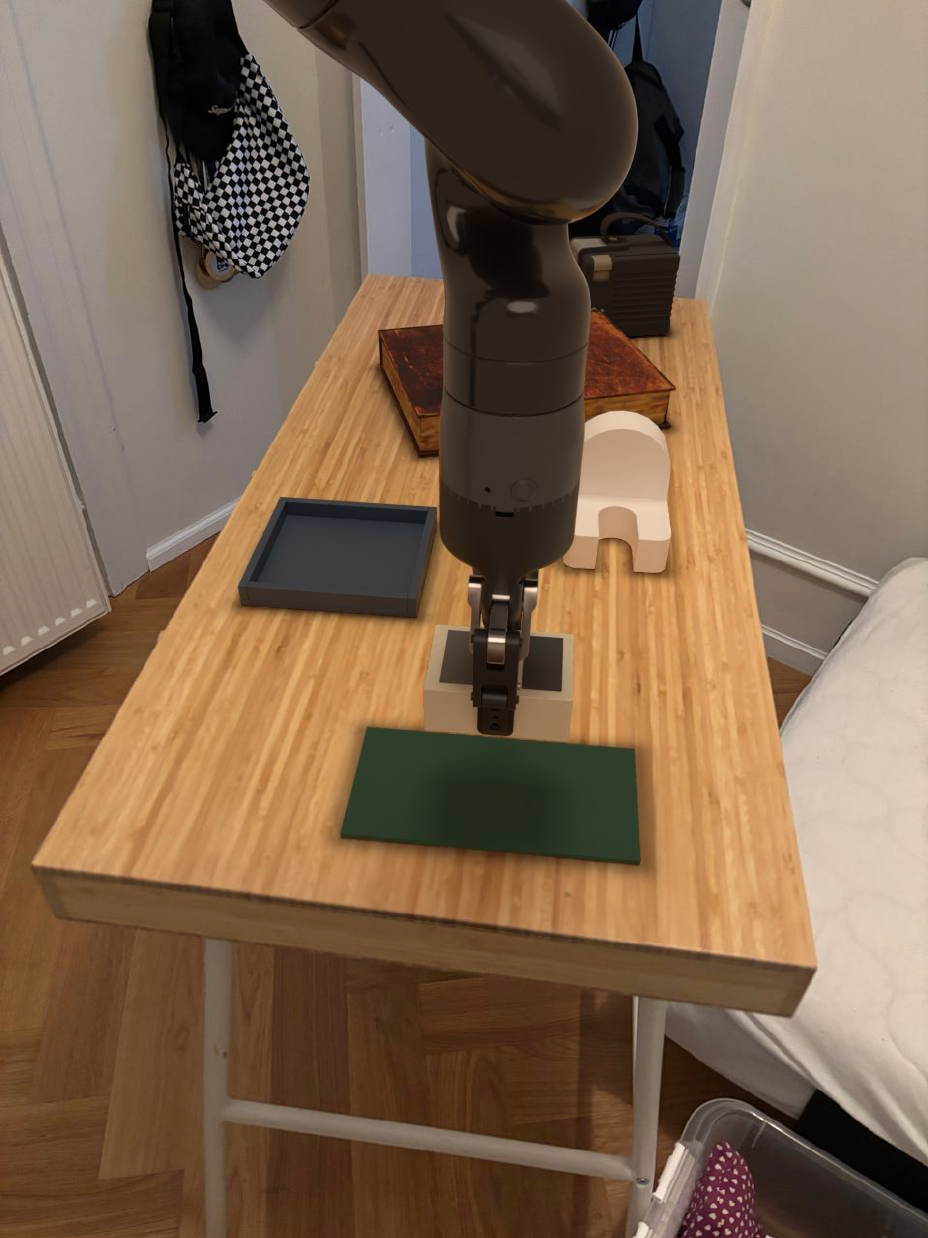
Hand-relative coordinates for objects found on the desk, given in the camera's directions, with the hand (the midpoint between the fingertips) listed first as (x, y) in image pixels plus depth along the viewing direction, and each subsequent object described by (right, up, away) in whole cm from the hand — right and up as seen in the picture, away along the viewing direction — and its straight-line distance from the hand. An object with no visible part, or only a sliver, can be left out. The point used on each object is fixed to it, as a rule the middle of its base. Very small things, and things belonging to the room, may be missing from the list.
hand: (499, 692), depth 60 cm
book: (+4, +32, +55) cm, 63 cm away
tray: (-13, +10, +27) cm, 32 cm away
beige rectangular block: (0, -1, +1) cm, 1 cm away
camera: (+19, +46, +72) cm, 88 cm away
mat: (0, -8, +6) cm, 10 cm away
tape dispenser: (+13, +15, +34) cm, 39 cm away
